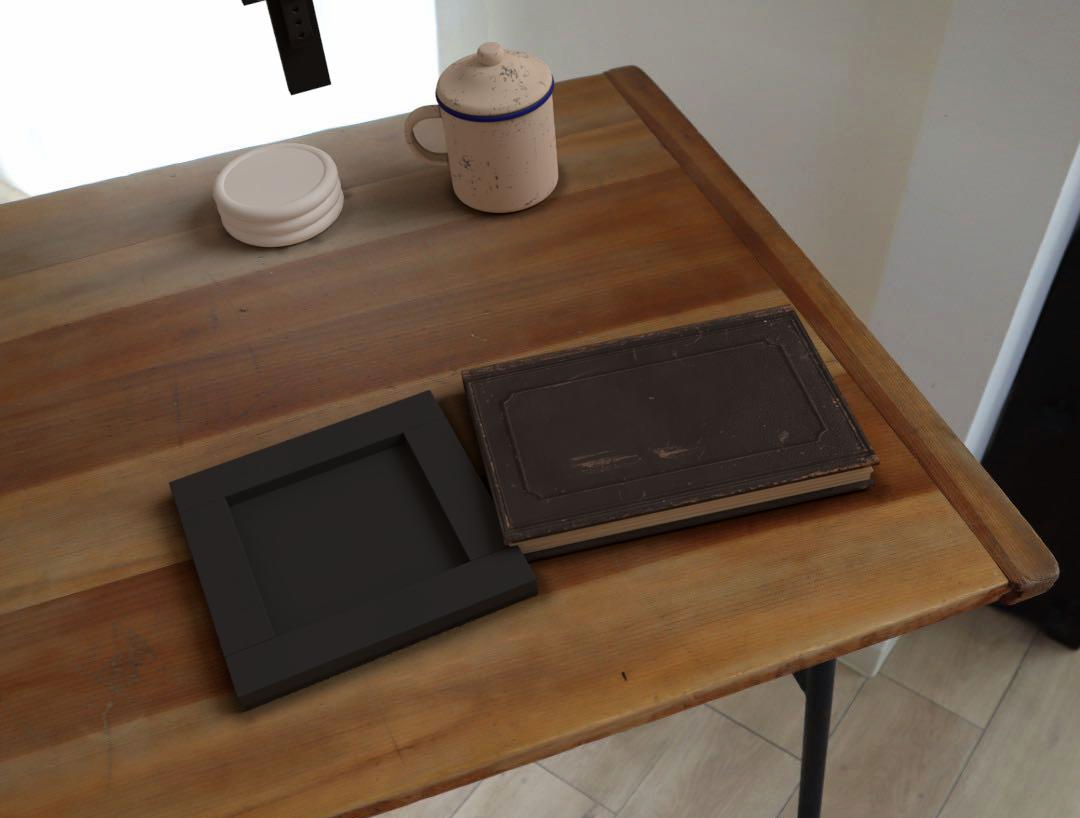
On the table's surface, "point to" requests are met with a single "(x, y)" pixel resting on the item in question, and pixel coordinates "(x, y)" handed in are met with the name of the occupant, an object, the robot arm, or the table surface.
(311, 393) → the table surface
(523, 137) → the teacup with lid
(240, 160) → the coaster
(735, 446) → the hardcover book
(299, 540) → the base pad
